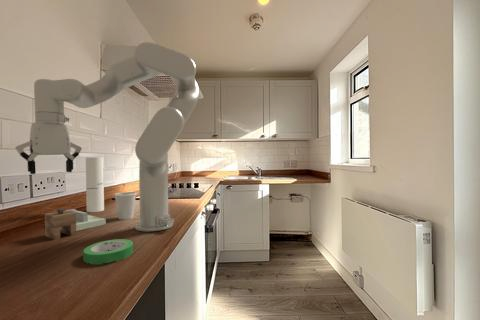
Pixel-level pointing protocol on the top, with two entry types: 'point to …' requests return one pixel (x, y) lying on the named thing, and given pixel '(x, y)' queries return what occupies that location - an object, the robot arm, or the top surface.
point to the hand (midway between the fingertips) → (51, 173)
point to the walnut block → (60, 224)
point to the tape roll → (118, 247)
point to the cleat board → (86, 220)
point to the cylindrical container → (94, 184)
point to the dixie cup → (125, 204)
